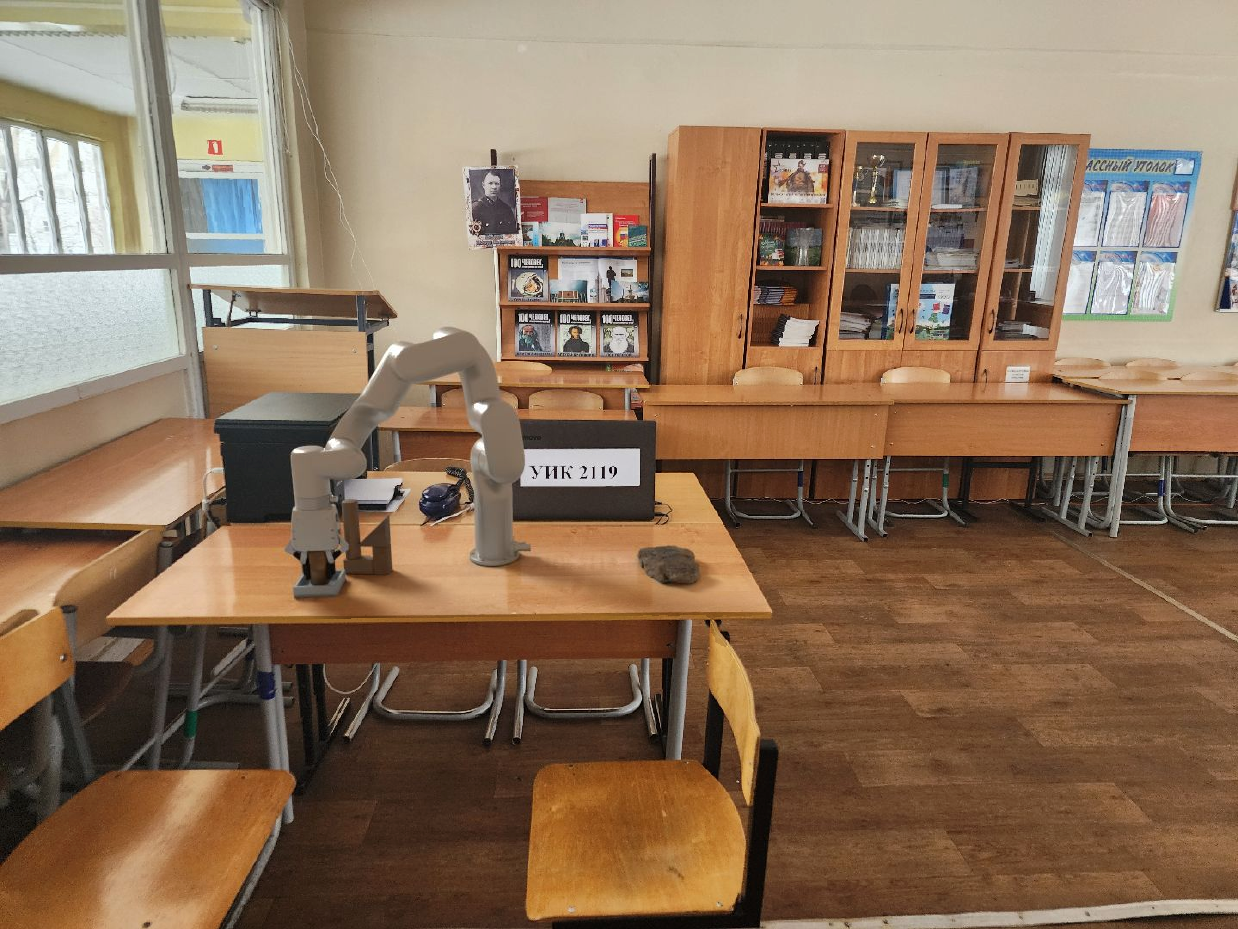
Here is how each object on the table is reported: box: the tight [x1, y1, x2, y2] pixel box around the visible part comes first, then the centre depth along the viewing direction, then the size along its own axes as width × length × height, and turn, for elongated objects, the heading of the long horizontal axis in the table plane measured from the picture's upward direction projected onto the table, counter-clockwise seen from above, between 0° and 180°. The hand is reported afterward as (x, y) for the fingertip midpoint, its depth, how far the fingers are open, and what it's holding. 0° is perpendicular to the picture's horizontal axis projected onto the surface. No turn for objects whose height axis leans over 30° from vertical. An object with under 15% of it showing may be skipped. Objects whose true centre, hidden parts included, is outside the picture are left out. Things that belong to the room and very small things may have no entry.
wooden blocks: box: [341, 498, 393, 576], centre depth 179 cm, size 4×11×18 cm, turn 89°
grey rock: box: [636, 545, 701, 585], centre depth 185 cm, size 14×5×20 cm
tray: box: [292, 569, 347, 599], centre depth 171 cm, size 9×9×2 cm
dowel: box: [308, 551, 330, 586], centre depth 170 cm, size 4×4×8 cm
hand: (320, 576), depth 171 cm, fingers closed on dowel, 4 cm apart
